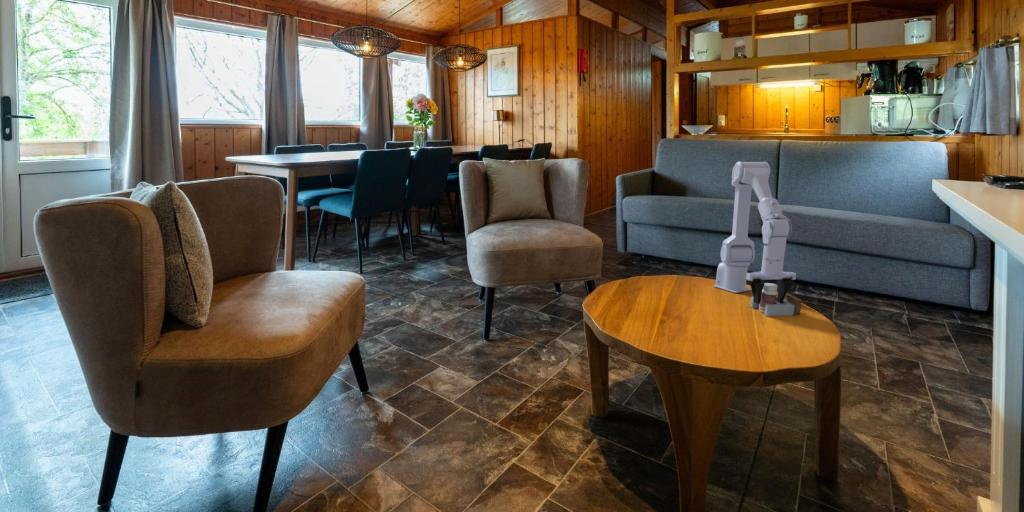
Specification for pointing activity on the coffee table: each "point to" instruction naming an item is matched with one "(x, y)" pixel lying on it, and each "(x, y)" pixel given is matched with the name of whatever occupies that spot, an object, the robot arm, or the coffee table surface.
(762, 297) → the pill bottle
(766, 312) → the cradle
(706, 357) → the coffee table surface
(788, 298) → the wall
